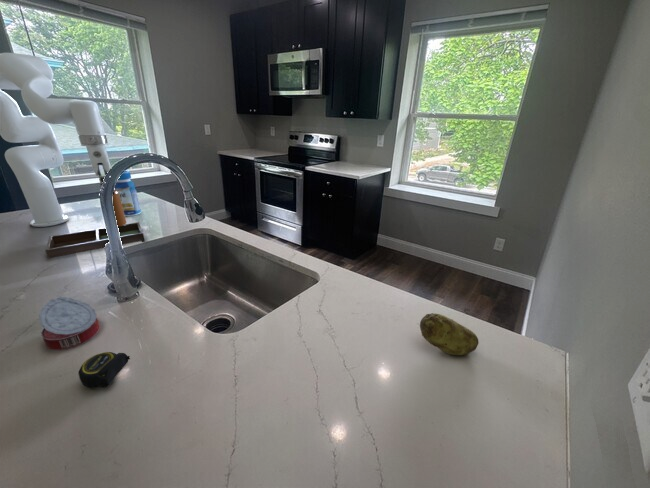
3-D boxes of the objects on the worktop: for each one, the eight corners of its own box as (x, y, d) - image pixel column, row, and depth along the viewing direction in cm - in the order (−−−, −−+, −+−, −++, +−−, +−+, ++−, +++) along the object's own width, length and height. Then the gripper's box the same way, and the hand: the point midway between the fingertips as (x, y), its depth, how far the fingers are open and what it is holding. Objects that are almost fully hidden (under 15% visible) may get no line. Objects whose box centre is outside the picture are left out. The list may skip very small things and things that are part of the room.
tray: (52, 245, 110) (49, 236, 108) (140, 230, 125) (138, 222, 124) (49, 259, 100) (45, 250, 98) (145, 241, 115) (143, 233, 114)
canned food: (90, 334, 76) (102, 297, 76) (97, 353, 69) (110, 312, 69) (29, 336, 67) (41, 294, 67) (30, 357, 60) (44, 310, 60)
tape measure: (109, 393, 56) (103, 378, 54) (73, 390, 56) (67, 376, 54) (132, 364, 62) (128, 350, 60) (100, 362, 62) (95, 348, 61)
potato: (474, 370, 63) (484, 342, 60) (413, 349, 69) (419, 321, 65) (475, 345, 70) (484, 318, 67) (420, 327, 75) (426, 301, 72)
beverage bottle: (145, 213, 143) (135, 171, 135) (127, 218, 137) (115, 174, 128) (136, 209, 147) (125, 169, 139) (117, 214, 141) (105, 171, 132)
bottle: (107, 223, 114) (94, 177, 107) (126, 220, 117) (114, 175, 110) (108, 228, 110) (94, 181, 102) (127, 225, 113) (115, 179, 105)
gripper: (108, 143, 96) (122, 197, 104) (106, 137, 109) (119, 186, 116) (79, 143, 92) (96, 200, 100) (80, 138, 105) (95, 189, 112)
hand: (108, 192), depth 108 cm, fingers closed on bottle, 4 cm apart
